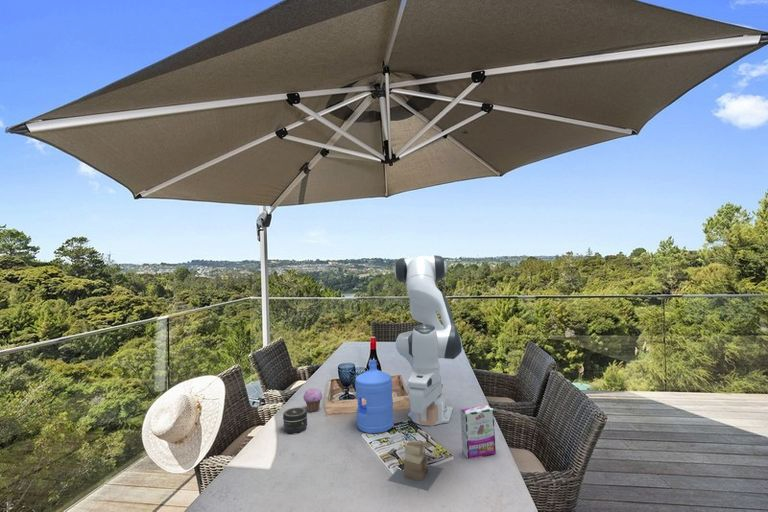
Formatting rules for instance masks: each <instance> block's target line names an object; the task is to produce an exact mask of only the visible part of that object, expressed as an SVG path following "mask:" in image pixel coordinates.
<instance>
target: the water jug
mask: <svg viewBox="0 0 768 512" xmlns="http://www.w3.org/2000/svg"><path fill="white" fill-rule="evenodd" d="M368 363H369V364H368V367H369V369H368V370H367V371H364V372H363V373H361V374H358V375H357V376H356V377H355V384H354V385H355V386H354V388H355V395H356V396H357V409H356V426H357V428H358V429H359V430H360V431H361V432H364V433H367V434H380V433H385V432H387V431H390V430H391V429H392V428H393V426H394V423H395V422H394V399H393V379H392V376H391V375H390V374H389V373H387V372H384V371H381V370H380V369H378V368H377V367H378V366H377V365H378V364H377V360H376V359H369V362H368ZM362 399H364V400H365V404H363V401H362Z"/></svg>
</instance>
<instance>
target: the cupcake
mask: <svg viewBox="0 0 768 512" xmlns="http://www.w3.org/2000/svg"><path fill="white" fill-rule="evenodd" d="M322 399H323V394H322V391H321V390H320V389H319V388H309V389H308V388H307V390H306V391H305V392H304V394H303V401H304V402H305V403H306V407H307V410H308V411H309V412H310V413H313V412H316V411H318V410H319V409H320V403H321V401H322Z"/></svg>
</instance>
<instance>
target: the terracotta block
mask: <svg viewBox="0 0 768 512" xmlns="http://www.w3.org/2000/svg"><path fill="white" fill-rule="evenodd" d="M426 413H427V414H428V419H427V420H426V421H422V420H421V415H420V413H418V418H419V424H418V425H420V424H424V425H423V426H432V427H434V426H435V425H434V424H435V423H436V422H437V421H438V405H433V404H431V405H430V406H429V407H428V408H427V411H426Z"/></svg>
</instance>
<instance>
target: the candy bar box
mask: <svg viewBox="0 0 768 512" xmlns="http://www.w3.org/2000/svg"><path fill="white" fill-rule="evenodd" d="M459 411H460V426H461V427H460V428H461V444H462V453H463V455H465V457H466V458H467V459H468V460H469V459H474V458H481V457H487V456H492V455H495V454H497V453H496V450H497V449H496V448H497V447H496V433H495V419H494V418H495V416H494V415H495V414H494V408H493V407H491V406H489V404H483V405H478V406H472V407H467V408H461V409H460V410H459Z"/></svg>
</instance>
